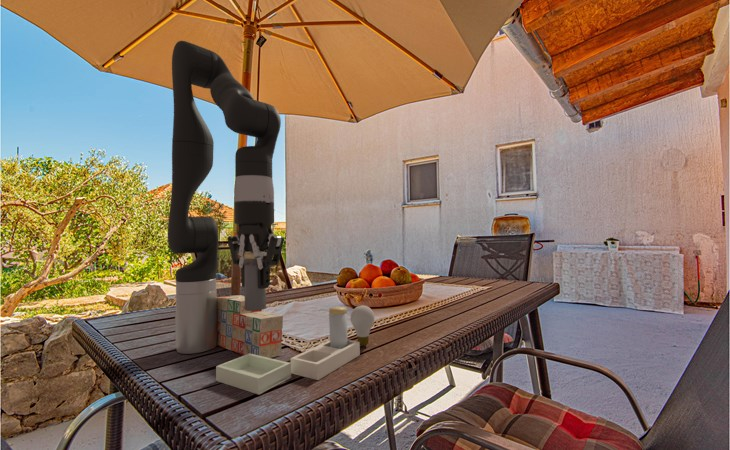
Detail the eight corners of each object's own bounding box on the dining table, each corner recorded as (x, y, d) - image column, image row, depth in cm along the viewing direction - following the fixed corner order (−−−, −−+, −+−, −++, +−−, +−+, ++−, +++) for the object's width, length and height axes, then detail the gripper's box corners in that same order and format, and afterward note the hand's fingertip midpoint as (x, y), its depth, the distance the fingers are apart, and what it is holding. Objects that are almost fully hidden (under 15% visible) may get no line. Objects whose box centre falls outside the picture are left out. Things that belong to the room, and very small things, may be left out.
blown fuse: (240, 309, 66) (239, 253, 67) (256, 305, 70) (255, 252, 70) (254, 311, 64) (253, 253, 65) (270, 307, 68) (269, 252, 68)
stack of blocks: (282, 355, 79) (283, 302, 80) (258, 362, 74) (260, 305, 76) (236, 339, 93) (238, 294, 94) (213, 344, 89) (216, 296, 90)
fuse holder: (290, 373, 69) (290, 358, 69) (335, 350, 81) (334, 337, 81) (317, 380, 65) (317, 364, 65) (359, 355, 78) (359, 341, 78)
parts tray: (216, 380, 66) (216, 366, 66) (249, 366, 73) (249, 353, 73) (258, 394, 60) (258, 378, 60) (291, 377, 66) (290, 363, 67)
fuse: (326, 358, 76) (325, 309, 76) (337, 353, 79) (336, 305, 80) (341, 361, 74) (339, 311, 74) (351, 355, 77) (350, 307, 78)
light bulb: (372, 351, 80) (371, 308, 80) (348, 350, 81) (347, 308, 82) (377, 343, 86) (375, 303, 86) (354, 342, 87) (353, 303, 87)
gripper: (214, 201, 68) (215, 287, 68) (265, 197, 61) (266, 293, 60) (245, 203, 74) (246, 282, 74) (294, 199, 67) (295, 287, 67)
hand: (255, 286), depth 67 cm, fingers closed on blown fuse, 4 cm apart
